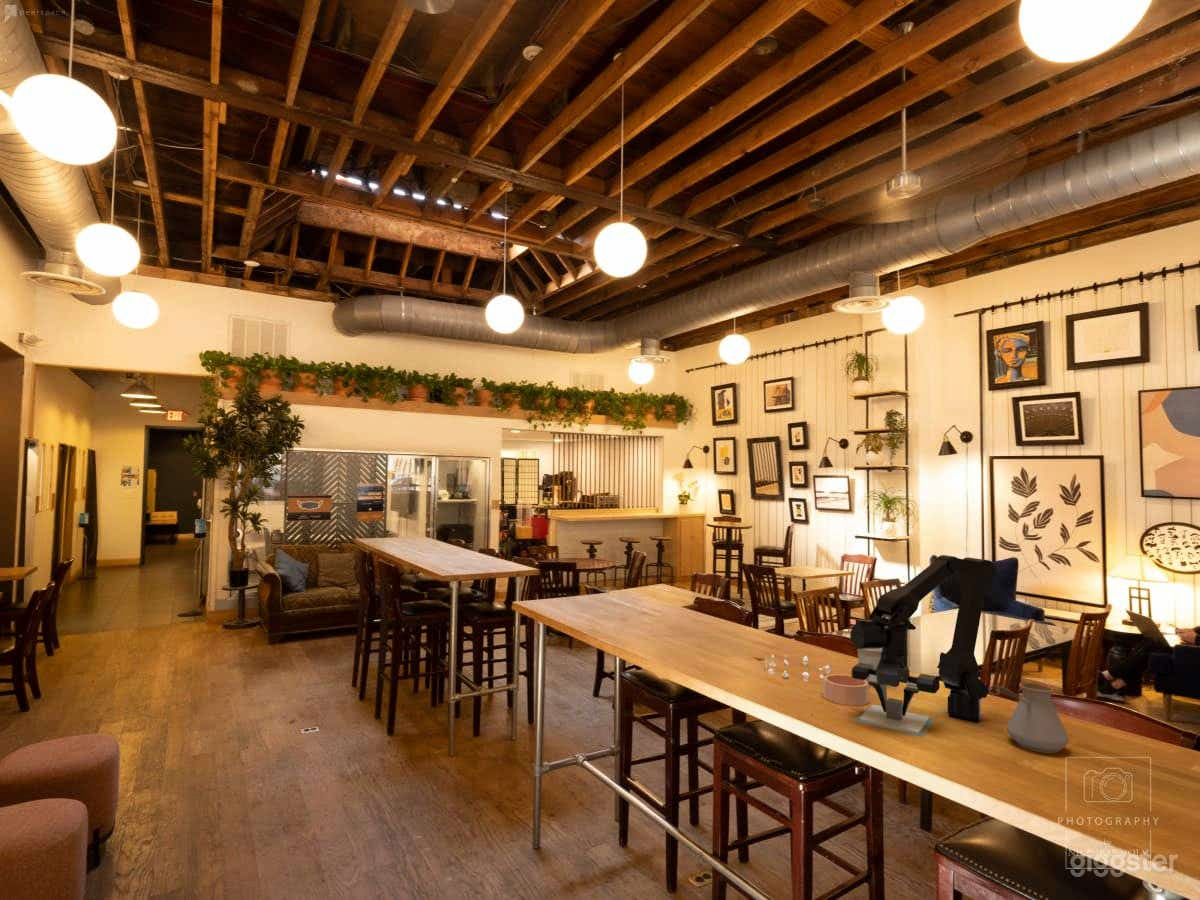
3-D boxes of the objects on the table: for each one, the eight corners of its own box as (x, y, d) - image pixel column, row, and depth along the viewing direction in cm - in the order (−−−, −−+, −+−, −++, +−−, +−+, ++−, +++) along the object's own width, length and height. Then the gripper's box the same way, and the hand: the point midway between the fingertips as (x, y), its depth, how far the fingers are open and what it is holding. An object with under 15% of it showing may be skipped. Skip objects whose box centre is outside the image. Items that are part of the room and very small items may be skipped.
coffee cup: (854, 684, 186) (854, 641, 187) (857, 676, 194) (857, 636, 194) (886, 689, 182) (886, 645, 183) (888, 681, 190) (888, 639, 190)
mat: (934, 721, 157) (934, 719, 157) (922, 739, 145) (922, 737, 145) (870, 707, 166) (870, 705, 166) (853, 723, 154) (853, 721, 154)
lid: (929, 719, 157) (929, 699, 157) (918, 734, 146) (918, 713, 146) (873, 707, 164) (873, 688, 165) (858, 721, 154) (858, 701, 154)
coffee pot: (1025, 733, 150) (1024, 667, 151) (1080, 752, 140) (1079, 681, 141) (967, 747, 141) (966, 677, 142) (1021, 768, 130) (1021, 693, 131)
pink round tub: (873, 699, 172) (873, 679, 172) (861, 710, 163) (861, 689, 163) (831, 691, 179) (831, 672, 179) (818, 700, 170) (818, 680, 170)
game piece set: (788, 661, 211) (788, 649, 211) (843, 676, 195) (843, 663, 195) (749, 669, 199) (749, 657, 199) (804, 686, 183) (805, 673, 184)
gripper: (844, 647, 156) (844, 713, 155) (930, 661, 144) (930, 733, 143) (858, 639, 164) (857, 702, 163) (939, 652, 153) (940, 719, 152)
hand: (894, 713), depth 155 cm, fingers open, 4 cm apart
